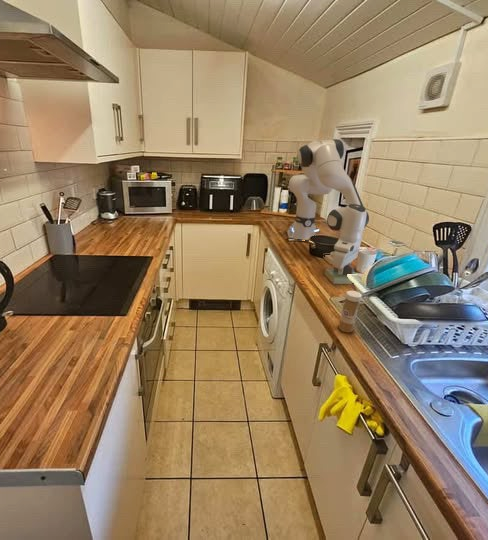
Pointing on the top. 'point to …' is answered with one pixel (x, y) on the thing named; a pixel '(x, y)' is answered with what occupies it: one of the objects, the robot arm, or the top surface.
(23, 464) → the top surface
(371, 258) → the white cup
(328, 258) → the switch block
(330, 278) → the tap plate
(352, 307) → the sprinkles bottle
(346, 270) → the spout
